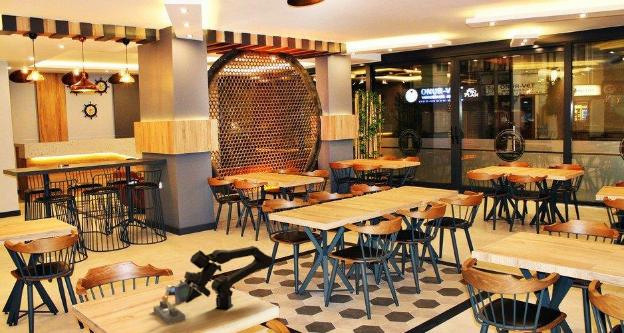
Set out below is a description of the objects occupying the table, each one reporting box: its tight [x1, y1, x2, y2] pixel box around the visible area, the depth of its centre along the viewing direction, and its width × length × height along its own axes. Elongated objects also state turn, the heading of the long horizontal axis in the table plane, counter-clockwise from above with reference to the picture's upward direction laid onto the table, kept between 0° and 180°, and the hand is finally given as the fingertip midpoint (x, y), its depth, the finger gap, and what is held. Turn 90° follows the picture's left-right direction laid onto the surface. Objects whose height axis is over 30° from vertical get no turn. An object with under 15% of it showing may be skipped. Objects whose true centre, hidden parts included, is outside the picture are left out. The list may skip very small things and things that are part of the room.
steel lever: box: [162, 284, 171, 304], centre depth 262 cm, size 3×3×10 cm
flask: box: [173, 279, 189, 305], centre depth 276 cm, size 9×3×11 cm, turn 146°
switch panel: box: [152, 300, 186, 325], centre depth 257 cm, size 20×8×5 cm, turn 34°
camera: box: [168, 285, 175, 296], centre depth 293 cm, size 12×11×7 cm
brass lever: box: [161, 295, 174, 313], centre depth 250 cm, size 3×3×10 cm
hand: (186, 302), depth 254 cm, fingers closed
